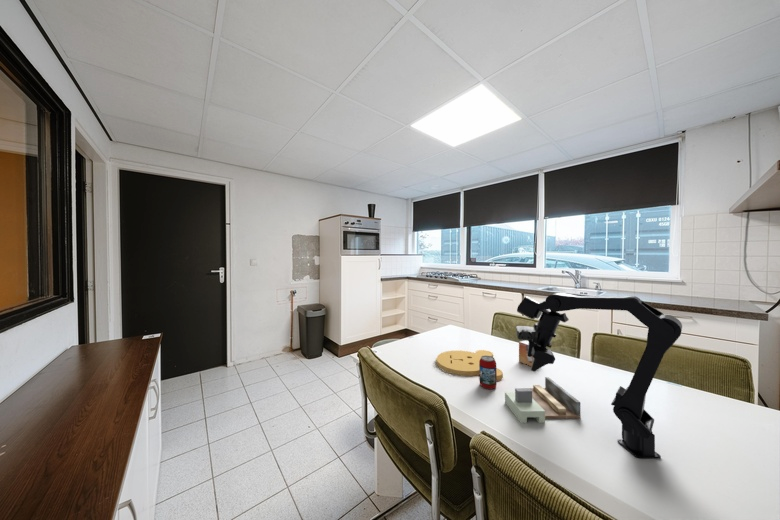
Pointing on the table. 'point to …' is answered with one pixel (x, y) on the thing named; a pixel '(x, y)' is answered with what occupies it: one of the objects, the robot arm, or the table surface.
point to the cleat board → (549, 409)
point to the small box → (524, 353)
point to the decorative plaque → (463, 362)
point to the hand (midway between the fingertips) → (530, 363)
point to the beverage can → (488, 372)
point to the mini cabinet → (524, 405)
